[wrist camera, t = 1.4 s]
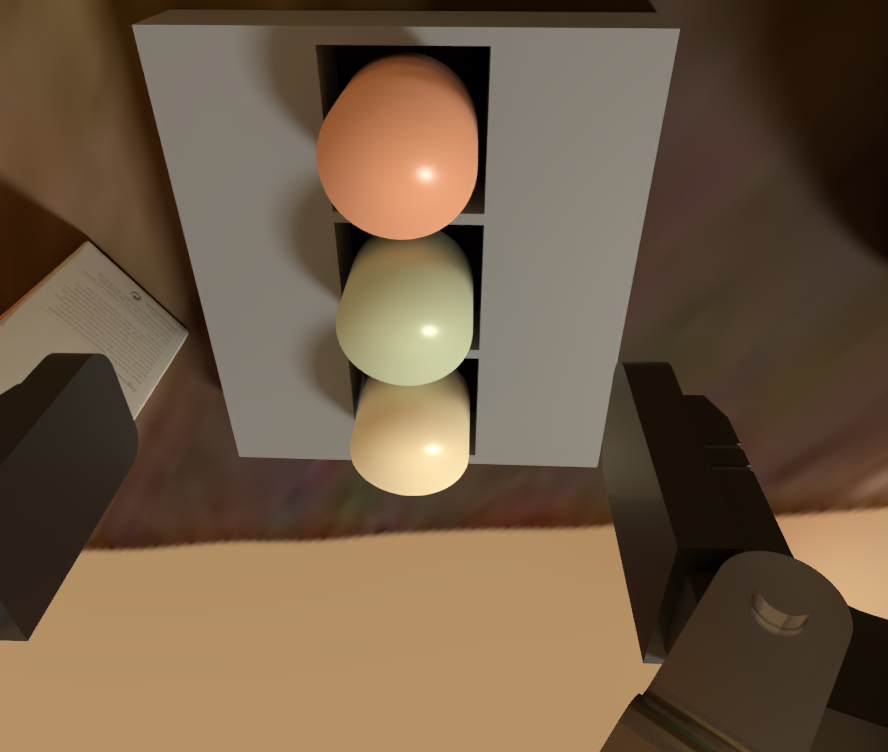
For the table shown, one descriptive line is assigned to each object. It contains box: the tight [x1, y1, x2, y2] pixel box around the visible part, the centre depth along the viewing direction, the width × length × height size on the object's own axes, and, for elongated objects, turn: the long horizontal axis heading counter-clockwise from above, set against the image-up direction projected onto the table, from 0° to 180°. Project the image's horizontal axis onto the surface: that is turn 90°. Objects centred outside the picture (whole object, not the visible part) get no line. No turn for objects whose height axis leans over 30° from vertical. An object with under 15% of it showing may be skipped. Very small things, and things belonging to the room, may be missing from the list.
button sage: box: [336, 231, 473, 386], centre depth 24 cm, size 5×5×4 cm
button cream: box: [350, 369, 470, 496], centre depth 27 cm, size 5×5×4 cm
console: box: [132, 9, 680, 467], centre depth 26 cm, size 17×16×3 cm
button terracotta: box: [316, 52, 478, 240], centre depth 20 cm, size 5×5×4 cm
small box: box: [0, 241, 188, 420], centre depth 26 cm, size 8×6×10 cm
